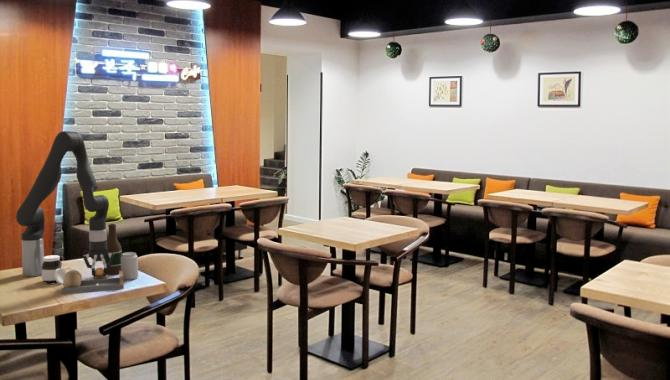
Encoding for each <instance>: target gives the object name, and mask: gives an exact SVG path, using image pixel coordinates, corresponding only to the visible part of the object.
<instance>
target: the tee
mask: <svg viewBox="0 0 670 380" xmlns="http://www.w3.org/2000/svg"><path fill="white" fill-rule="evenodd" d="M95 279H108V275H106V276H104V274H103V275H102V276H97V275H96V274H95V277H94V276H92V280H95Z"/></svg>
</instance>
